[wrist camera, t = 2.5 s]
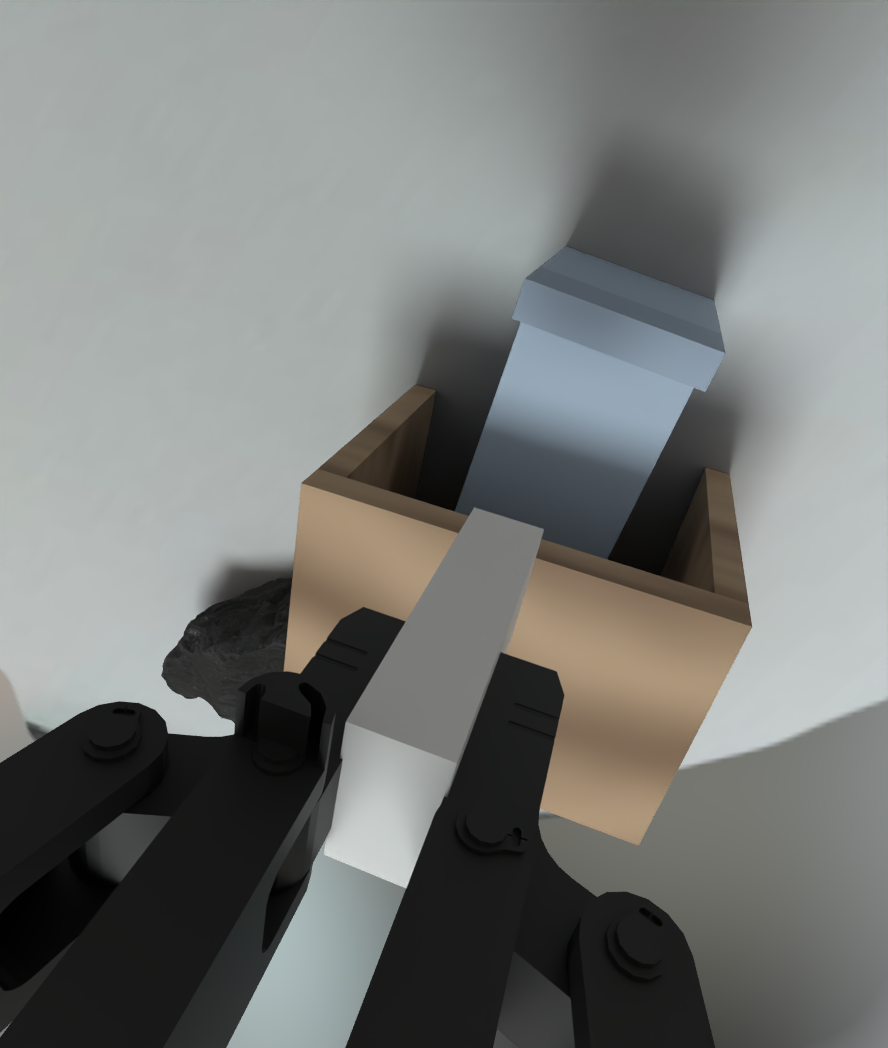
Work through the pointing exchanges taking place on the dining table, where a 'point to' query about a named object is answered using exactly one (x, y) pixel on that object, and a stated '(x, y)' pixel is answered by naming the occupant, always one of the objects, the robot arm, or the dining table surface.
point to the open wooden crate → (540, 615)
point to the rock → (231, 646)
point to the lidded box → (589, 398)
